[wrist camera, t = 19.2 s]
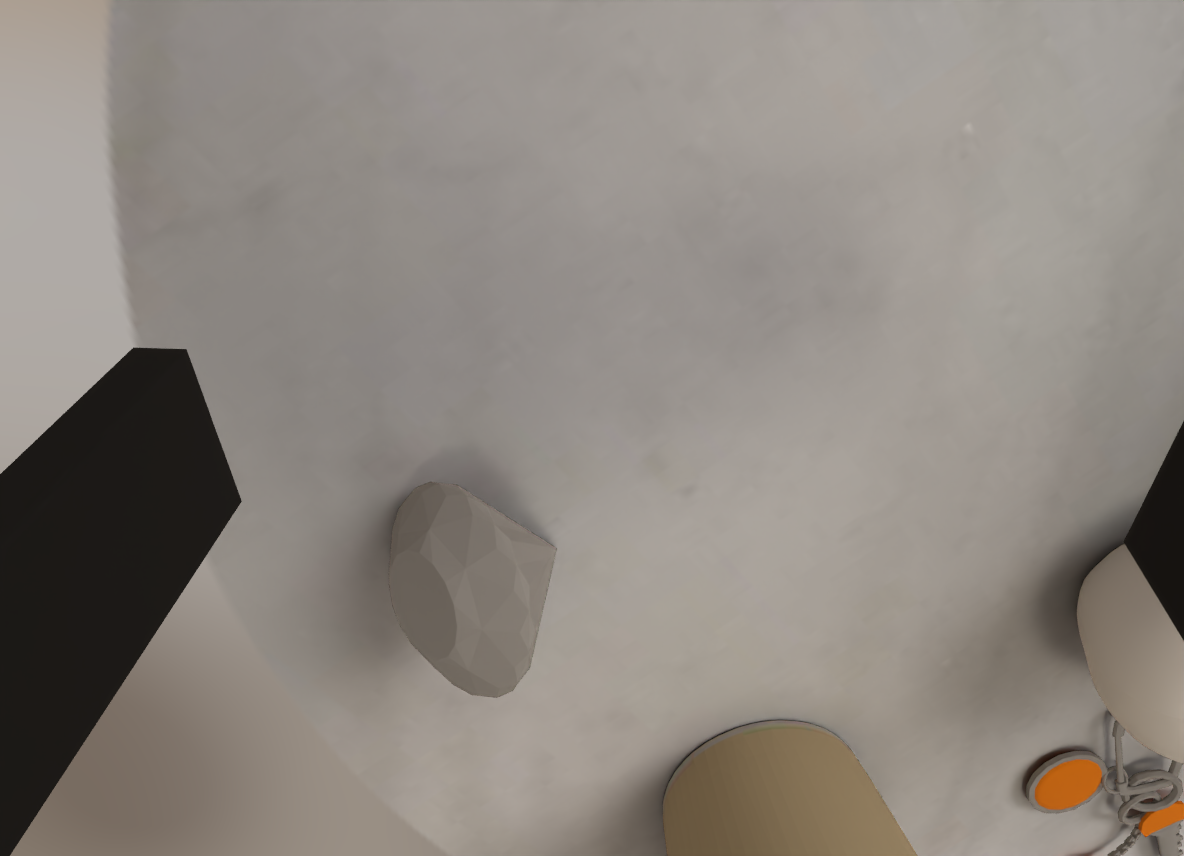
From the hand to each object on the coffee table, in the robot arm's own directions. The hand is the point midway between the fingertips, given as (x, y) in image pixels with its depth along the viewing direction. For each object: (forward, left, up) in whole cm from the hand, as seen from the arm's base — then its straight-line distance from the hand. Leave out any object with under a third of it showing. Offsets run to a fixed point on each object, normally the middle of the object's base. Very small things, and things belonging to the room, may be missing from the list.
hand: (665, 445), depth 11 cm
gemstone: (+8, -5, -12) cm, 15 cm away
